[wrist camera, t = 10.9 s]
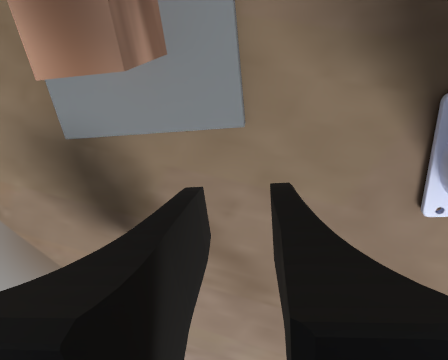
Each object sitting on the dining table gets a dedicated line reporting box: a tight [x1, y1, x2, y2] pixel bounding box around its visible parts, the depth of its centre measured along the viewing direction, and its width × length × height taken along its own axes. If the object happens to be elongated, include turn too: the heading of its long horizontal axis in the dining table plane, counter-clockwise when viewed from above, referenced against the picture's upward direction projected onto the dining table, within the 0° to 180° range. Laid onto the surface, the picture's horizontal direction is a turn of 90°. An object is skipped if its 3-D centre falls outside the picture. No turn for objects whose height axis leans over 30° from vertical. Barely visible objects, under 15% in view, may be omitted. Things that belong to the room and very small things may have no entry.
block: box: [7, 0, 167, 80], centre depth 15 cm, size 4×5×6 cm
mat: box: [45, 0, 245, 139], centre depth 18 cm, size 12×14×1 cm
